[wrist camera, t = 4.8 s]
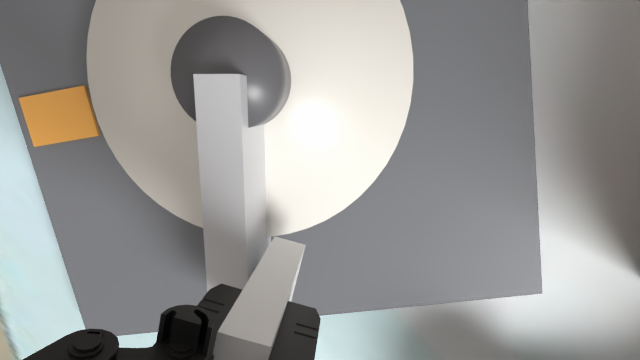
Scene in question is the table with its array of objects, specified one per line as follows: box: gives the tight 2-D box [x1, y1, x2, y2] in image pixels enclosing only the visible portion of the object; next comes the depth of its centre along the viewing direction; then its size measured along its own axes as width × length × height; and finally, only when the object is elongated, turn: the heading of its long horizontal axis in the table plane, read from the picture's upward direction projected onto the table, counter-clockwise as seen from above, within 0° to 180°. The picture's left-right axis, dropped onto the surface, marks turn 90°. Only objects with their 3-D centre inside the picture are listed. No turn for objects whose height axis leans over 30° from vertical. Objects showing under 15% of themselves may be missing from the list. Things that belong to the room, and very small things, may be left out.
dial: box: [86, 0, 413, 292], centre depth 15 cm, size 18×14×4 cm
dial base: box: [0, 0, 542, 336], centre depth 17 cm, size 24×24×2 cm
